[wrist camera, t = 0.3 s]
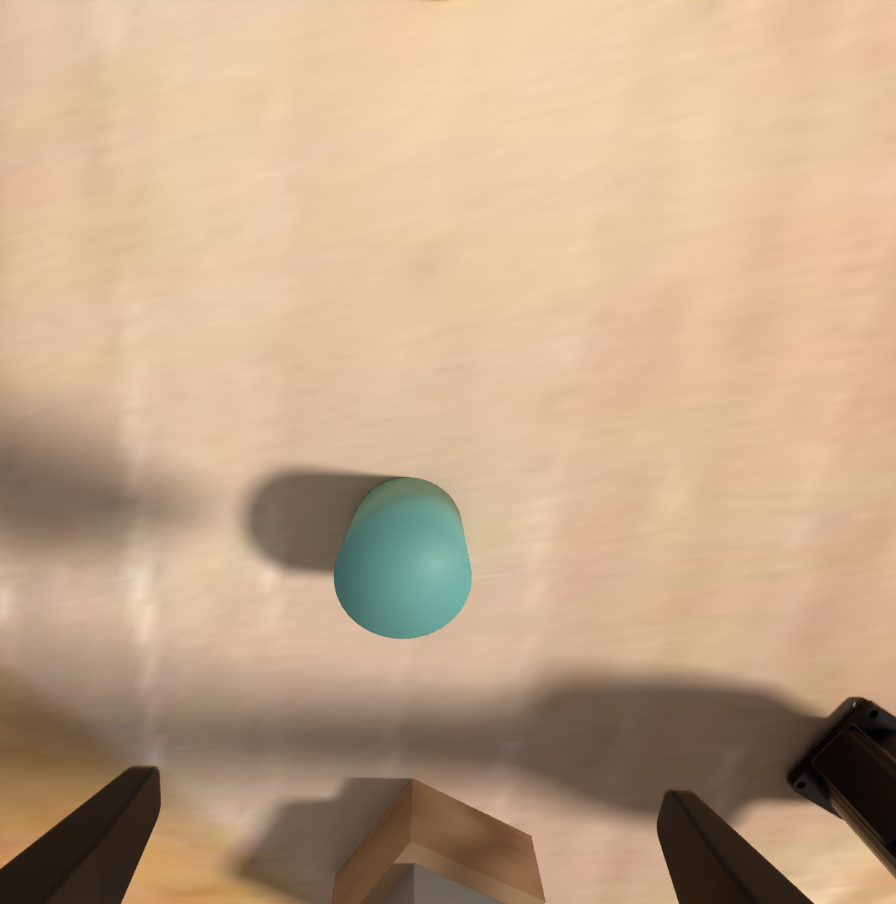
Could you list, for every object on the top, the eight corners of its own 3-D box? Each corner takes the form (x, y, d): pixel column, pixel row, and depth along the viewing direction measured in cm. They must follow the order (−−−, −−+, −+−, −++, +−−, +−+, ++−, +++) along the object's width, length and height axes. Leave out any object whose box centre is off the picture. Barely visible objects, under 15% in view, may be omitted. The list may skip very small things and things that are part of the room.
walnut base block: (529, 828, 26) (545, 901, 22) (452, 916, 27) (456, 998, 24) (412, 771, 24) (410, 841, 21) (337, 867, 26) (323, 947, 22)
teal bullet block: (483, 514, 21) (498, 559, 16) (423, 595, 22) (422, 660, 17) (390, 456, 20) (381, 488, 16) (332, 544, 21) (308, 598, 16)
